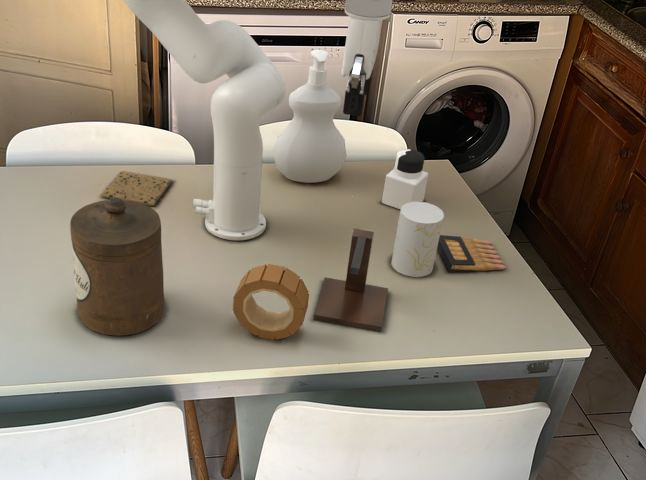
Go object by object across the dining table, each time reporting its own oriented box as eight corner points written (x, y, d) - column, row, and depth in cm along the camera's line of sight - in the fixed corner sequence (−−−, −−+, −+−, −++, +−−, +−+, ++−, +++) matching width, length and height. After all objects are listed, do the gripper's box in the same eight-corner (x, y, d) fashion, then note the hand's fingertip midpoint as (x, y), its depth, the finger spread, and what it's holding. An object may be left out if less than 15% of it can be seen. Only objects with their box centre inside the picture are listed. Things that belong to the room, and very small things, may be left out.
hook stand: (312, 323, 143) (319, 261, 135) (323, 282, 153) (331, 223, 146) (380, 335, 141) (391, 273, 134) (387, 293, 152) (397, 233, 144)
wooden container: (88, 282, 148) (79, 175, 136) (169, 288, 148) (168, 181, 136) (68, 333, 136) (56, 220, 124) (157, 339, 136) (154, 227, 124)
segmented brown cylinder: (231, 332, 139) (234, 274, 132) (238, 315, 143) (241, 259, 136) (300, 344, 138) (306, 287, 131) (305, 327, 142) (311, 271, 135)
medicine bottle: (423, 201, 182) (433, 152, 175) (410, 213, 177) (419, 164, 170) (395, 191, 185) (403, 143, 178) (381, 203, 180) (388, 154, 173)
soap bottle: (275, 188, 182) (284, 61, 165) (268, 165, 191) (276, 42, 175) (348, 188, 185) (364, 62, 168) (337, 164, 194) (352, 43, 177)
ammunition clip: (448, 271, 159) (507, 273, 160) (451, 263, 158) (509, 266, 159) (434, 242, 167) (489, 244, 169) (436, 234, 166) (492, 237, 168)
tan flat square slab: (173, 181, 182) (173, 177, 181) (154, 206, 172) (154, 202, 171) (122, 172, 184) (122, 168, 183) (101, 197, 174) (100, 193, 173)
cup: (407, 280, 156) (418, 227, 149) (383, 259, 161) (392, 206, 154) (441, 271, 159) (452, 218, 152) (416, 250, 165) (426, 198, 158)
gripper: (352, -12, 140) (341, 83, 150) (338, 17, 126) (327, 120, 136) (396, -7, 139) (382, 89, 149) (386, 23, 125) (371, 126, 135)
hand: (355, 103), depth 142 cm, fingers open, 9 cm apart
